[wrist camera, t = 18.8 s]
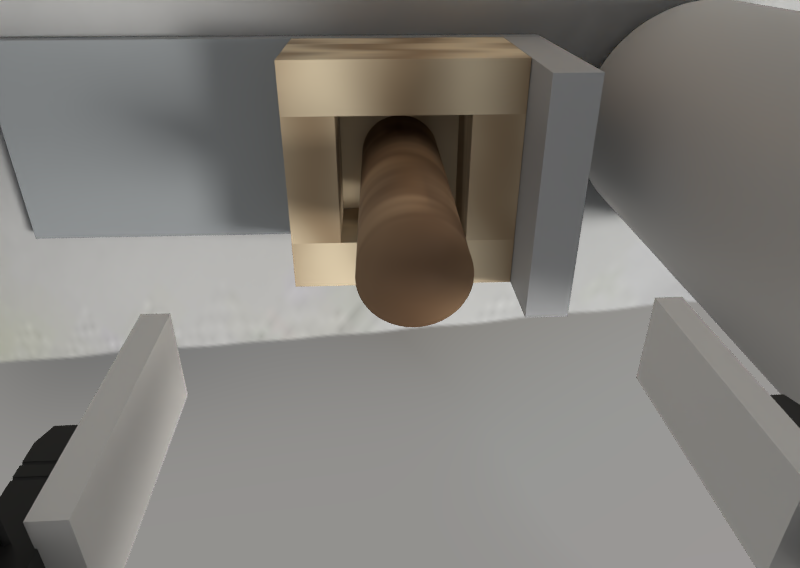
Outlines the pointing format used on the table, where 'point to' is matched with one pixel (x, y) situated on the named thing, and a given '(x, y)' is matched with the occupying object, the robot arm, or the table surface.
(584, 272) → the table surface
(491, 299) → the table surface
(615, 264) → the table surface
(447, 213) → the dowel
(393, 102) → the block
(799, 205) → the cylinder vase
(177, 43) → the grey corner bracket
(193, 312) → the table surface
